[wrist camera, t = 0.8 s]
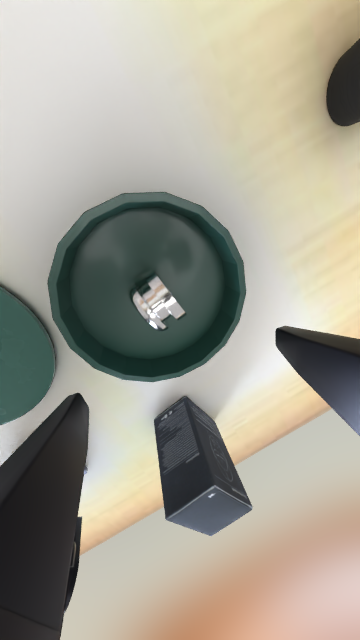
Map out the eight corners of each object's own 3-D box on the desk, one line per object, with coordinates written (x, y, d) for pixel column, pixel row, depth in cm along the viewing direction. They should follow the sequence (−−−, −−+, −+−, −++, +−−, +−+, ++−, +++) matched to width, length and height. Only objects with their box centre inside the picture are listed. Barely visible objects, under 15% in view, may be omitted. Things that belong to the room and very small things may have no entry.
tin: (106, 380, 23) (102, 404, 20) (23, 226, 16) (-3, 224, 12) (236, 336, 24) (252, 351, 21) (216, 178, 17) (234, 165, 14)
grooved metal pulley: (180, 303, 21) (193, 322, 16) (157, 320, 21) (164, 344, 16) (149, 264, 19) (155, 273, 14) (125, 283, 19) (122, 299, 14)
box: (152, 419, 27) (163, 522, 17) (185, 394, 26) (216, 485, 17) (186, 443, 30) (211, 539, 21) (215, 421, 30) (255, 510, 20)
